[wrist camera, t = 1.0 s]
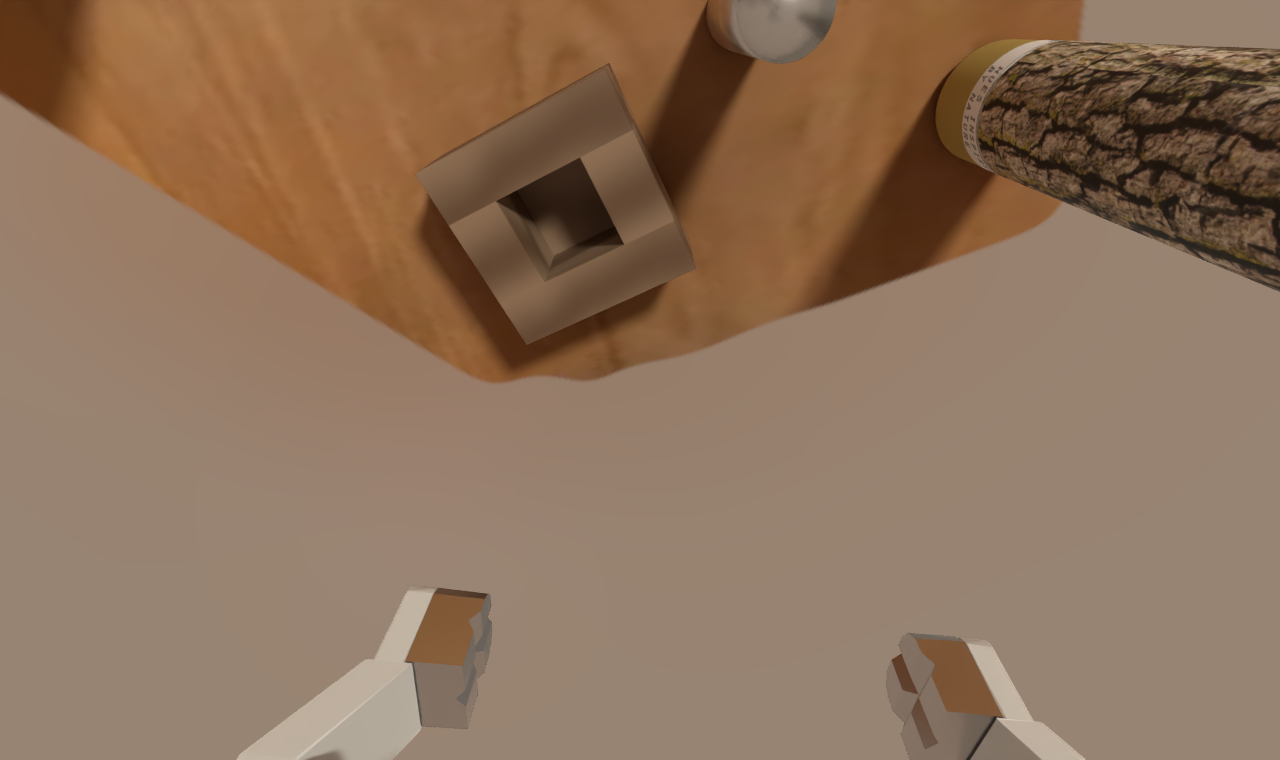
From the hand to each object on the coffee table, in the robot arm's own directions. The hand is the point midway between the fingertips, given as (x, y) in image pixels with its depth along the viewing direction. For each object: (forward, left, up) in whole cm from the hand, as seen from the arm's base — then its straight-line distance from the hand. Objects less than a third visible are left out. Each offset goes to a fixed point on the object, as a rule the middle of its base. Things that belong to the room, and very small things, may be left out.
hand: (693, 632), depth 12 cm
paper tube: (+3, +21, -33) cm, 39 cm away
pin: (-8, +9, -33) cm, 35 cm away
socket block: (-3, -5, -33) cm, 33 cm away
